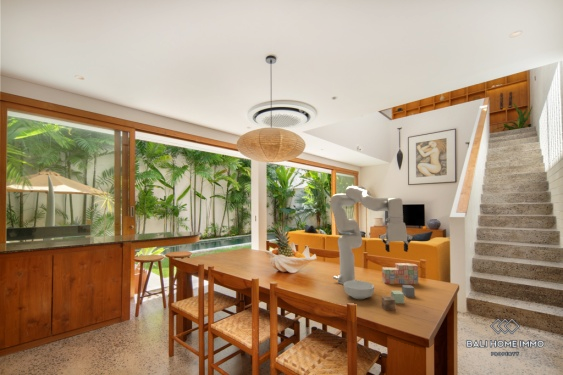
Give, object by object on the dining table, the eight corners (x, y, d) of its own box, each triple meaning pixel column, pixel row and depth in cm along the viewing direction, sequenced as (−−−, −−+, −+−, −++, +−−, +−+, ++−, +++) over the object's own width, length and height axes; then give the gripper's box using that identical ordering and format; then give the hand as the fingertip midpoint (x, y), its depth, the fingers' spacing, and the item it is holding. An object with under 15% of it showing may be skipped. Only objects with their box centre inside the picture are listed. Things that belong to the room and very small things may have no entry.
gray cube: (405, 296, 151) (405, 287, 152) (402, 293, 156) (401, 285, 157) (414, 296, 151) (414, 287, 151) (410, 293, 156) (410, 285, 156)
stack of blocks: (384, 283, 175) (384, 265, 176) (382, 281, 181) (381, 262, 182) (418, 284, 173) (418, 265, 174) (414, 281, 179) (414, 263, 180)
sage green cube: (394, 303, 142) (394, 293, 142) (391, 300, 147) (390, 290, 147) (404, 303, 142) (403, 293, 142) (400, 300, 147) (400, 290, 147)
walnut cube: (385, 310, 133) (385, 300, 133) (382, 306, 138) (381, 296, 138) (395, 310, 133) (395, 300, 133) (391, 306, 138) (391, 296, 138)
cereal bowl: (370, 304, 140) (369, 291, 141) (339, 298, 149) (339, 286, 149) (377, 294, 155) (377, 282, 155) (349, 290, 164) (349, 278, 164)
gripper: (382, 220, 144) (383, 252, 143) (414, 220, 143) (416, 252, 142) (377, 220, 152) (378, 250, 151) (408, 219, 151) (409, 250, 150)
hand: (396, 251), depth 146 cm, fingers open, 9 cm apart
